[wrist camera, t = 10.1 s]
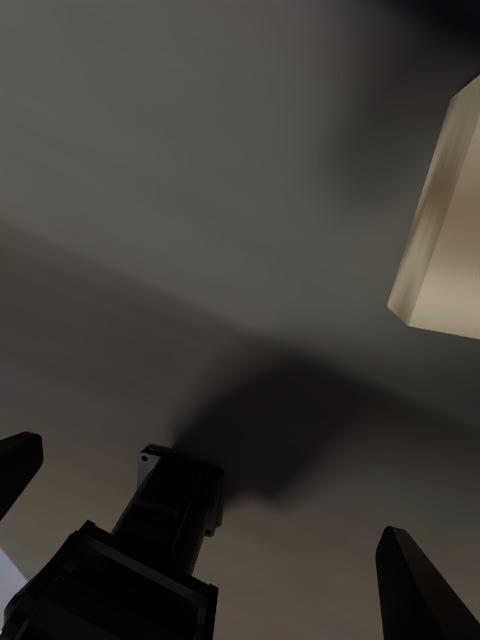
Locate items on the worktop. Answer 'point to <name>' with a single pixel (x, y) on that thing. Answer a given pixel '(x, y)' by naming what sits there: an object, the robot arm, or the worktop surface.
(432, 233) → the birch block
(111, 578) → the robot arm
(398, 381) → the worktop surface
